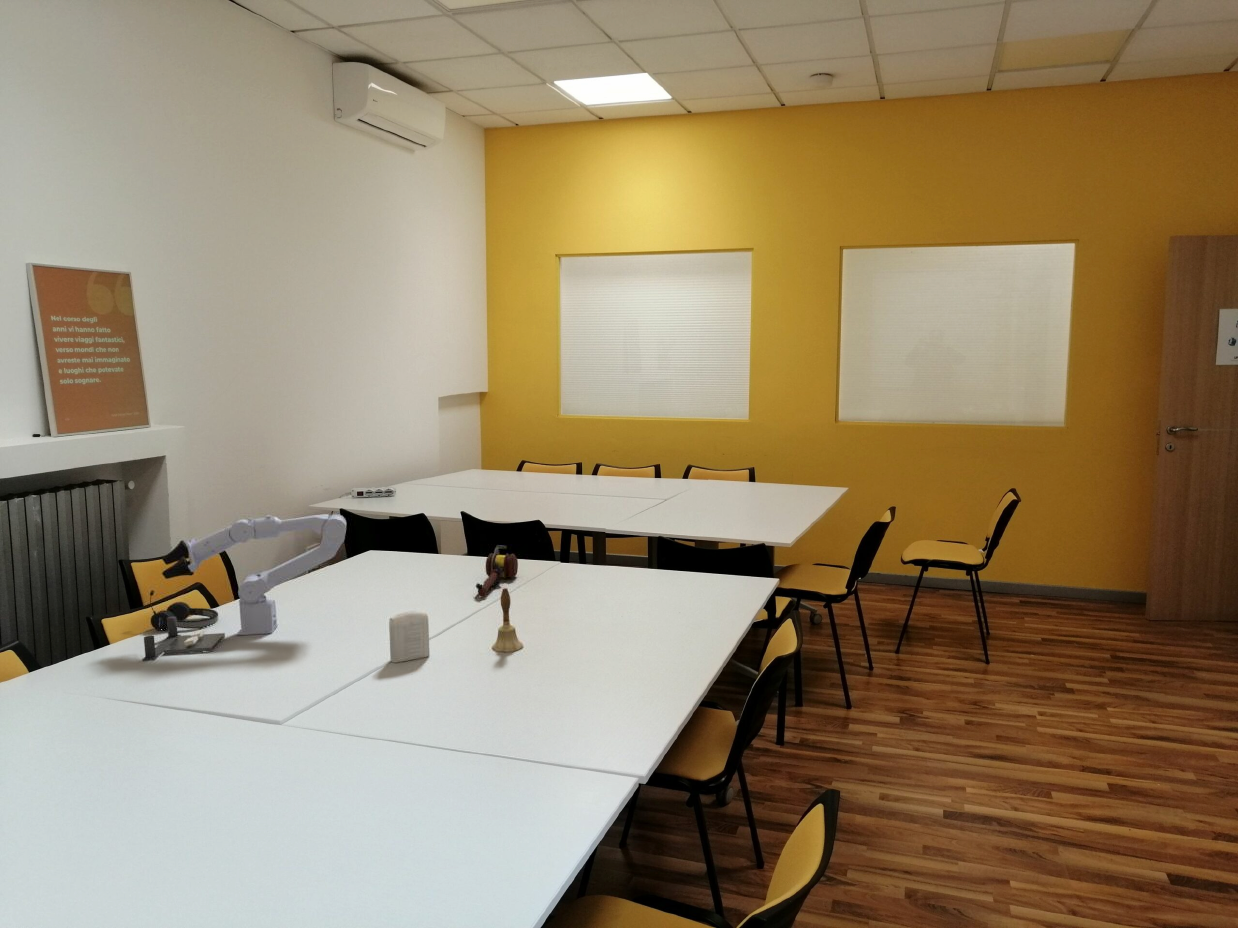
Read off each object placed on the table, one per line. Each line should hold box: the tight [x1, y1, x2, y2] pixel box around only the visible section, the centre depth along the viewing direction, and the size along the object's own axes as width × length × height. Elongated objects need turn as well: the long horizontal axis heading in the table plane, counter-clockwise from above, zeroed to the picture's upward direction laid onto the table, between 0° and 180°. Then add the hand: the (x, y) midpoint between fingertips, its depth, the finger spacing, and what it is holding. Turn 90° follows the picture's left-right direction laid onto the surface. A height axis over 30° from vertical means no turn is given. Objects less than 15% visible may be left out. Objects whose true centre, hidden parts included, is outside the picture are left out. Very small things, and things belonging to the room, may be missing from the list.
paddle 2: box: [190, 629, 206, 637], centre depth 254 cm, size 2×4×1 cm, turn 9°
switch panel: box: [163, 632, 226, 656], centre depth 251 cm, size 12×13×1 cm
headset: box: [149, 590, 219, 631], centre depth 272 cm, size 14×10×20 cm
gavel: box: [475, 544, 519, 597], centre depth 311 cm, size 10×34×10 cm
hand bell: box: [491, 587, 524, 653], centre depth 244 cm, size 8×8×16 cm
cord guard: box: [142, 617, 182, 662], centre depth 250 cm, size 3×21×6 cm, turn 8°
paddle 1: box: [184, 636, 198, 646], centre depth 248 cm, size 2×4×1 cm, turn 9°
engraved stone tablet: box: [388, 610, 430, 664], centre depth 237 cm, size 10×4×12 cm, turn 123°
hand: (164, 568), depth 256 cm, fingers open, 7 cm apart
